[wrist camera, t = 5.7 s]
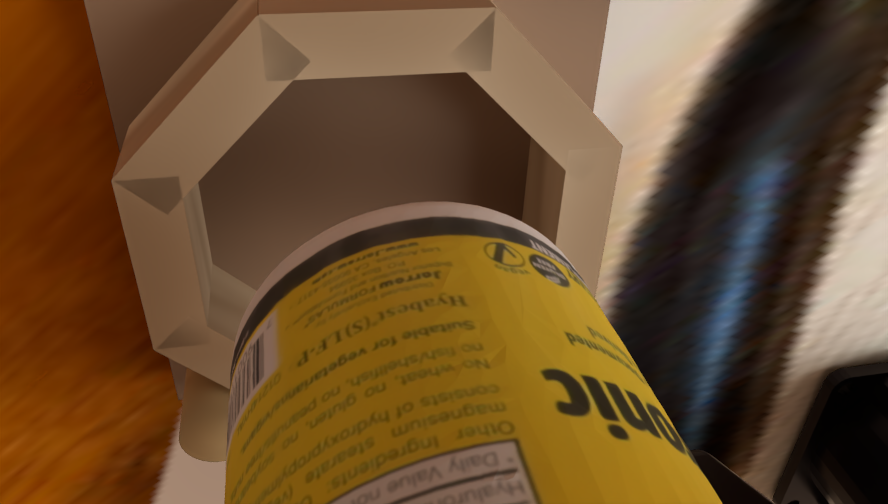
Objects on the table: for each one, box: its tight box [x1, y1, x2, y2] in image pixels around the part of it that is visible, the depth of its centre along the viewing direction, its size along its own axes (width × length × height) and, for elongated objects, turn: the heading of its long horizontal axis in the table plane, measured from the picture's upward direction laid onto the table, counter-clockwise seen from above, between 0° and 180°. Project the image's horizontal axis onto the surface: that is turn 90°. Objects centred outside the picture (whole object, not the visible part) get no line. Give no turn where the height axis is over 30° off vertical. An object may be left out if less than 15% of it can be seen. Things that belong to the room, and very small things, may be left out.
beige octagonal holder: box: [84, 0, 623, 462], centre depth 14 cm, size 10×9×3 cm
